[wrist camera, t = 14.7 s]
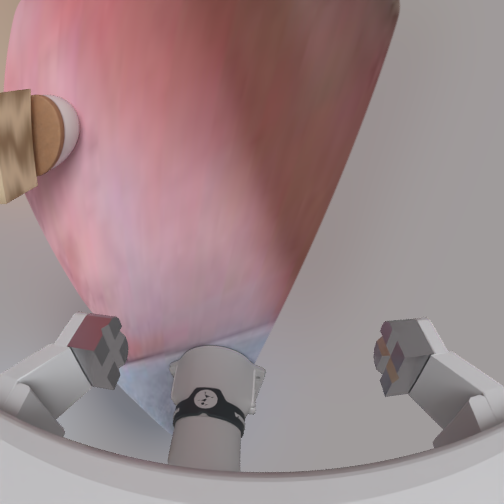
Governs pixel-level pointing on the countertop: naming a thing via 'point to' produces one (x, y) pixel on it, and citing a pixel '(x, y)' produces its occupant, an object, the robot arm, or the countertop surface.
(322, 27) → the countertop surface
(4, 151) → the beech block
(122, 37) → the countertop surface
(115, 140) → the countertop surface
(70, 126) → the lidded jar
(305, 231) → the countertop surface
